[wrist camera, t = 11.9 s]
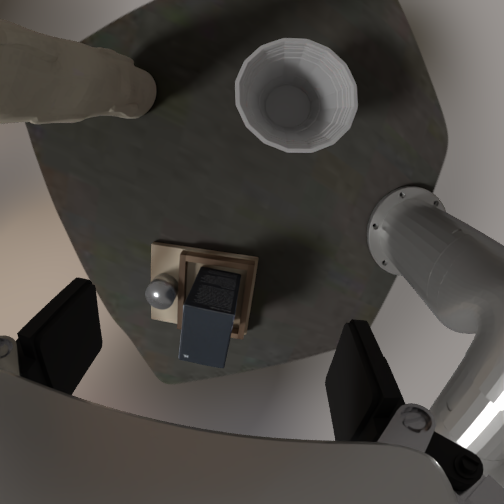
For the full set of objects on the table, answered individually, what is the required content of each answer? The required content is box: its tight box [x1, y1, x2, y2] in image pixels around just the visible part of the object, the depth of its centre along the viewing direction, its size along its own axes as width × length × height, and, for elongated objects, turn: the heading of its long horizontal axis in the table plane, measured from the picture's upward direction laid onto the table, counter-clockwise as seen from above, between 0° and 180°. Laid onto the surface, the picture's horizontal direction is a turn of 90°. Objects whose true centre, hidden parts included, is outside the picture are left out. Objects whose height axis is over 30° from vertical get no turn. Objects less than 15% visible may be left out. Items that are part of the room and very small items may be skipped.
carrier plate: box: [145, 242, 258, 339], centre depth 43 cm, size 14×12×4 cm
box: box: [179, 266, 241, 368], centre depth 39 cm, size 8×6×11 cm
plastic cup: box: [235, 38, 358, 153], centre depth 30 cm, size 11×11×12 cm
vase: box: [0, 19, 156, 124], centre depth 21 cm, size 9×8×30 cm
